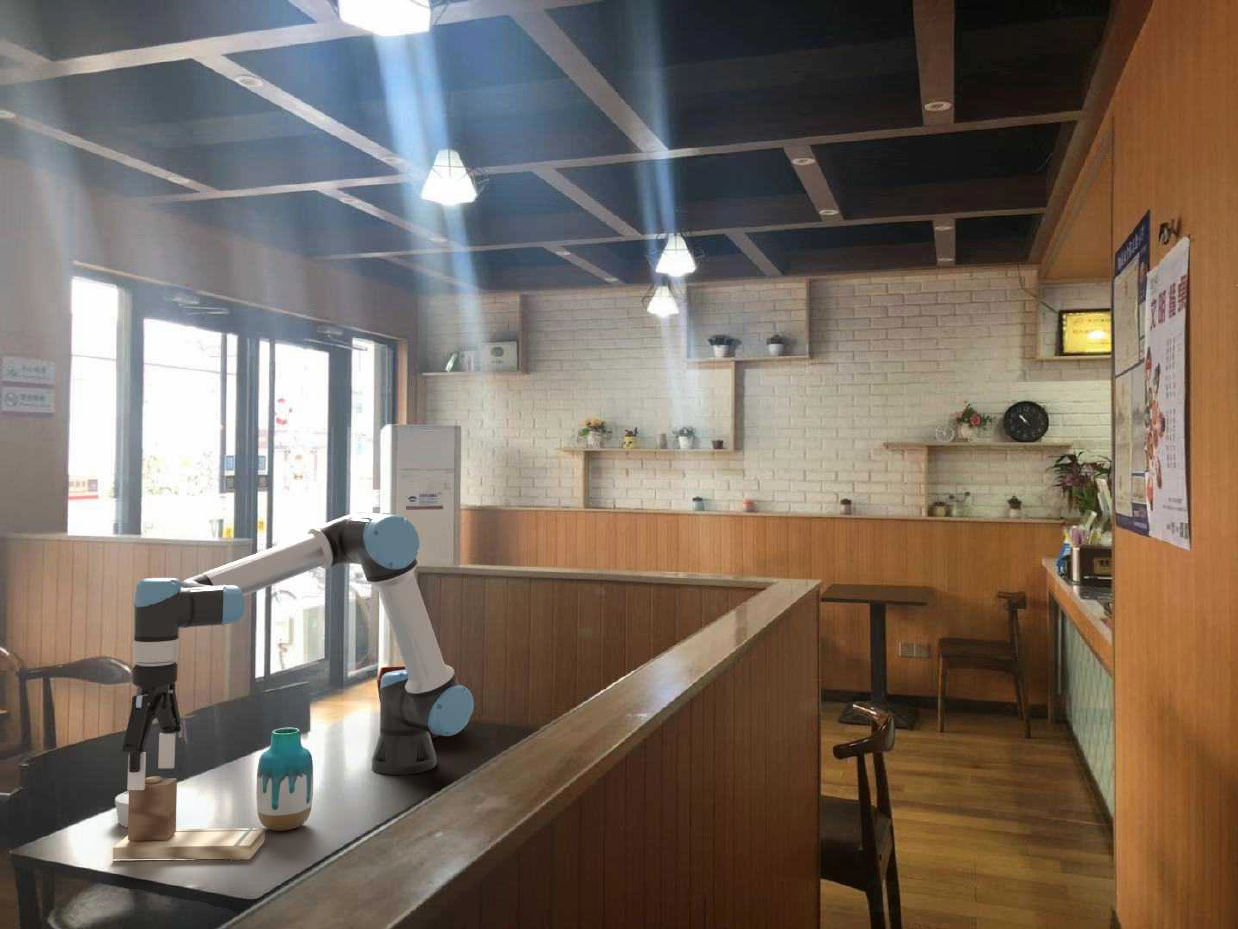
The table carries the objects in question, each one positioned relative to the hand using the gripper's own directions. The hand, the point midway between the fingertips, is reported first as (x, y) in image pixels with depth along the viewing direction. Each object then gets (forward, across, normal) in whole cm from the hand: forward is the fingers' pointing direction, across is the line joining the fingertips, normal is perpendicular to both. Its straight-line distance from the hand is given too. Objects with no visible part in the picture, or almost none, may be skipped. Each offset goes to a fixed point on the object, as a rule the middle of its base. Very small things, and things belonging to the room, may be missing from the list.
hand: (151, 778), depth 179 cm
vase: (+13, -12, +21) cm, 28 cm away
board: (+13, 0, +7) cm, 15 cm away
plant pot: (+13, -84, +36) cm, 93 cm away
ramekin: (+14, -17, -8) cm, 23 cm away
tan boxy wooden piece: (+11, -2, 0) cm, 11 cm away
